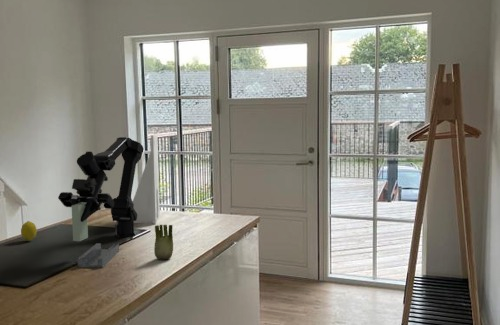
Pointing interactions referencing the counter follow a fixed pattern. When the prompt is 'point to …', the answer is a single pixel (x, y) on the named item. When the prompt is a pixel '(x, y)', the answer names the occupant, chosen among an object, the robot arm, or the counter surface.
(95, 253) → the track
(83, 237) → the door panel
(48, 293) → the counter surface
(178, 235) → the counter surface
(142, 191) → the white bracket plate
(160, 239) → the fennel bulb
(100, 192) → the robot arm
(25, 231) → the lemon
